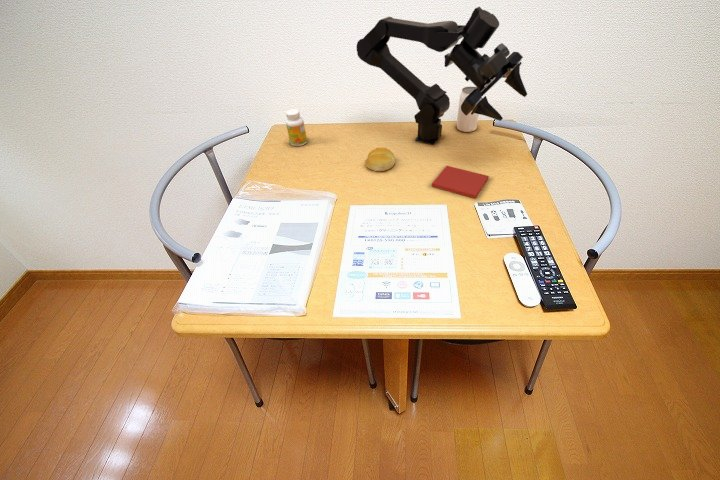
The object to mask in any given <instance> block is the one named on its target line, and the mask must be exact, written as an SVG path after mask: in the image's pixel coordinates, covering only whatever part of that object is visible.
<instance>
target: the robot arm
mask: <svg viewBox="0 0 720 480" xmlns="http://www.w3.org/2000/svg"><path fill="white" fill-rule="evenodd" d="M499 27H500V22H499V19H498V18H497V16H496V15H495V14H494V13H491V12H490V11H489V10H486V9H482V8H481V6H477V7H475V8H474V9H473V11H472V12H471V15H470V17H469V19H468V20H467V22H466V23H465V25H464V24H463V25H462V24H458V23H457V22H456V21H454V20H444V21H435V22H431V23H429V22H428V23H427V22H420V21H413V20H406V19H401V18H395V17H392V16H386V17H384V18H381V19H379V20H378V21H377V23H376V24H375V26H374V27H372V29H370V31H368V32H367V33H366V34H365V36H364V37H362V38H360V39H359V40H358V41H357V43H356V55H357V57H358V58H359V59H360V60H361V61H362V62H364V63H365V64H367V65H368V66H371V67H375V68H379V69H380V70H382V72H384V73H385V74H386V75H387V76H388V77H389V78H390V79H391V80H393V81H394V82H395V83H396V84H397V85H398V86H399V87H400V88H402V89H403V90H404V91H405V92H406V93H407V94H409V96H410V97H412V98H413V99H414V100H415V102H416V106H417V108H418V110H419V111H418V112H416V114H414V116H413V118H414V121H415V123H416V124H417V136H416V137H415V139H414V141H416V142H419V143H423V144H427V145H435V144H436V143H437V142H438V141H439V140H440V139H441V138H442V137H443V133H442V131H443V125H442V118H441V117H443V116H445V115H444V114H445V113H446V112H447V111H449V109H450V105H451V101H450V97H449V95H447V93H448V92H447V91H446V90H444V89H442V87H441V86H440V85H439V84H437V83H434V84H432V85H431V86H429V85H427V84H426V83H424V82H423V81H422V80H421V79H420V78H419V77H417V76H416V75H415V74H414V73H413V72H412V71H411V70H409V68H407V67H406V66H405V65H404V64H403V63H402V62H400V61H399V60H398V59H397V58H396V57H395V56H394V54H392V53H391V50H390V47H389V44H388V43H389V41H390V39H391V38H394V39H400V40H406V41H412V42H418V43H421V44H423V45H425V47H426V48H428V49H430V50H432V51H434V52H438V53H442V52H443V53H444V52H445V51H448V49H451V48H452V49H451V51H450V52H448V53H446V54H445V55H444V56H443V58H444V67H445V68H447V67H449V66H450V65H453V64H454V66H456V67H457V69H459V70H460V72H462V73H463V75H464V76H465V77H464V80H465V81H466V82H467V83H468V82H469V81H470V82H471V83H472V84H473V86H474V87H477V89H474V90H473V91H472V92H471V93H470V94H469V95H468V96H467V97H466V98H465V100H464V101H463V103H462V105H461V110H462V112H463V113H464V114H465V115H466V116H467V115H468V114H469V113H470V112H471V111H472V112H471V114H472V115H473V114H474V113H476V114H479V115H481V116H485V117H488V118H491V119H494V120H496V121H499V122H501V121H502V120H503V118H504V117H503V116H502V115H501V114H500V113H499V111H498V110H496V108H494V106H492V104H490V102H489V100H488V98H487V96H486V93H488V92H489V90H491V89H492V88H493V87H494V86H495V85H496V84H497V83H498V82H499V81H500V80H501V79H502V78H504V81H503V82H504V83H505V84H507V85H508V86H509V87H510V88H512V89H513V90H514V91H515V92H517V94H519V95H520V96H522V97H523V98H526V97H527V95H528V92H527V90H526V87H525V85H524V82H523V80H522V76H521V73H520V72H521V71H520V69H521V66H522V60H523V58H524V56H523V55H522V54H521V53H520V52H519V51H512V53H511V52H510V50H509V48H508V47H507V45H505V44H504V43H503V42H500V44H498V45H497V46H496V47H495V48H494V49H493V54H492V55H491V56H489V55H488V54H487V53H484V54H481V53H480V52H479V51H478V49H484V47H486V45H487V44H488V42H489V41H490V39H491V38H492V37H493V35H494V34H495V33H496V31H497V29H498V28H499ZM459 40H461V41H460V43H458V42H459Z"/></svg>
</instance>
